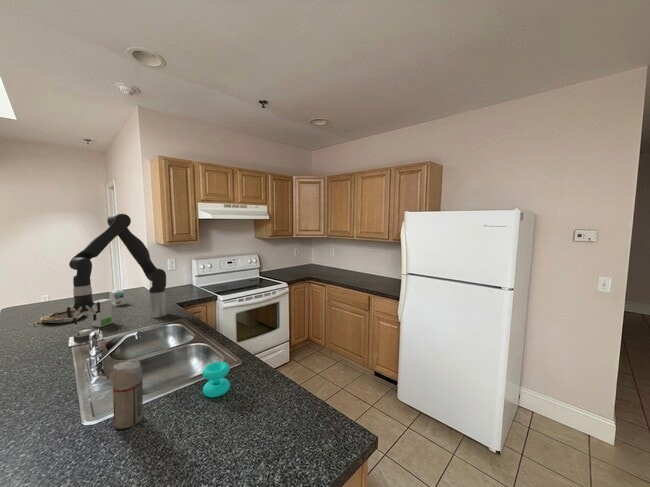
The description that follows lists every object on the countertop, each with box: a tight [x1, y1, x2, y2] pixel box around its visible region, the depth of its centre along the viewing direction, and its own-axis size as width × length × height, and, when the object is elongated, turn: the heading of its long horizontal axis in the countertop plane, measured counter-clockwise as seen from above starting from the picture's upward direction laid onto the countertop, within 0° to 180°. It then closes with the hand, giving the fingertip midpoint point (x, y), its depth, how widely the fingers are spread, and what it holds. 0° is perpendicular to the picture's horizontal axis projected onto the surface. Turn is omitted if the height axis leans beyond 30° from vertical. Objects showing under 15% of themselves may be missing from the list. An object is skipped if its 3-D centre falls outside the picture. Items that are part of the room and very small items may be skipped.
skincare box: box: [91, 298, 113, 328], centre depth 172 cm, size 8×7×16 cm
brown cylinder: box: [112, 359, 144, 430], centre depth 90 cm, size 8×8×20 cm
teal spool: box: [201, 361, 231, 398], centre depth 107 cm, size 10×10×10 cm
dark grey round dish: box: [68, 328, 104, 348], centre depth 152 cm, size 14×14×4 cm
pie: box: [33, 308, 87, 326], centre depth 180 cm, size 28×27×5 cm
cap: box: [78, 328, 93, 336], centre depth 152 cm, size 5×5×4 cm
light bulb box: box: [108, 288, 126, 307], centre depth 213 cm, size 11×7×11 cm, turn 58°
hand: (85, 322), depth 151 cm, fingers open, 7 cm apart
